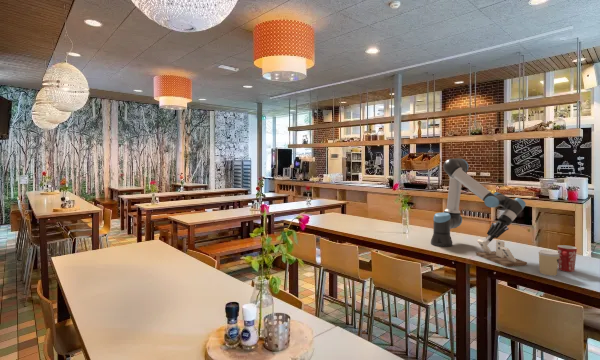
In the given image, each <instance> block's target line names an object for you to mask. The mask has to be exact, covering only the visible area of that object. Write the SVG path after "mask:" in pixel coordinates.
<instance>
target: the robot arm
mask: <svg viewBox="0 0 600 360" xmlns="http://www.w3.org/2000/svg"><path fill="white" fill-rule="evenodd" d="M442 167H443V171H444V173H445V174H447V175H448V177H449V182H448V183H449V184H448V190H447V191H448V193H447V201H446V202H447V203H446V208H445V209H444V210H443V212H436V213H434V215H433V220H432V221H433V231H432V232H433V234H432V235H431V236H432V237H431V240H430V244H431V245H432V246H435V247H442V248H443V247H445V248H448V247H452V246H453V240H452V237H451V229H456V228H458V227H460V226H461V225H462V222H463V217H462V215H461V211H460V201H461V192H462V186H464V187H465V188H466V189H468V190H469V191H470V192H472V193H473V194H474V195H475V196H477V197H478V198H479V199H481V201H483V202H484V205H485V206H486V207H488V208H490V209H491V208H497V207H502V208H505V210H504V211H503V212H502V213H501V215H500V216H499V217H498V218H497V221H496V222H495V223H494V222H492V223H491V225H490V227H489V229H488V231H486V232H487V233H486V234H487V236H486V237H485V239H484V240H483V241H485V243H486V244H487V246H488V245H489V243H490V242H492V241H493V240H494V239H499V237H500V236H501V235H502V234H504V233H505V232H506V231H508V230H509V227H508V226H510V225H511V224H512V223H513V221H514V220H516V218H517V217H518V216H519V214H520V213H521V212H522V211H523V210H524V208H525V207H526V205H527V203H526V202H525V200H524V199H522V198H520V197H516V198H512V197H509V196H507V195H504V194H502V193H500V192H494V193H493V192H491V190H489V189H488V188H486V187H485V186H483V184H481V183H480V182H479V181H477V180H476V179H475V178H473V177H472V176H471V175H469V174H467V172H468V170H469V163H468V162H467V161H466V159H463V158H448V159H446V160H445V161H444V163H443V166H442Z"/></svg>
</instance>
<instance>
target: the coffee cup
mask: <svg viewBox="0 0 600 360" xmlns="http://www.w3.org/2000/svg"><path fill="white" fill-rule="evenodd" d="M558 261H559V253H558V251H553V250H546V249H545V250H544V249H543V250H539V251H538V263H539V264H538V265H539V273H540V274H541V275H544V276H551V277H555V276H557V274H558V270H559V268H558Z"/></svg>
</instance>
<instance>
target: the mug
mask: <svg viewBox="0 0 600 360" xmlns="http://www.w3.org/2000/svg"><path fill="white" fill-rule="evenodd" d="M556 248H557V253H559V261H558V270H559V271H563V272H567V273H573V272H575V268H576V261H577V260H576V259H577V253H578V252H577V251H578V248H577V247H576V246H572V245H565V244H563V245H562V244H561V245H560V244H559V245H557V247H556Z"/></svg>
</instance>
